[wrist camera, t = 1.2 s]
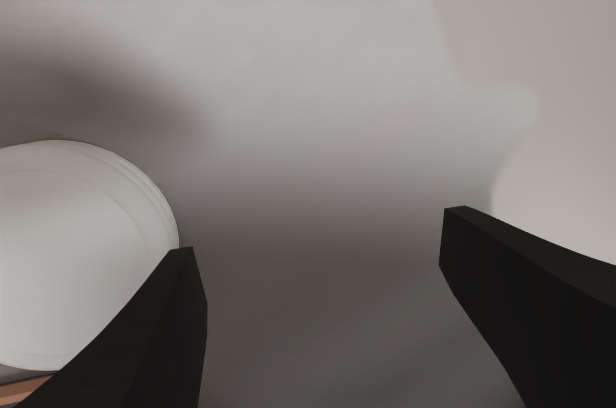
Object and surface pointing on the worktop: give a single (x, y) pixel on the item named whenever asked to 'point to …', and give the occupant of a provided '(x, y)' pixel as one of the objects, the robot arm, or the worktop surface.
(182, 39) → the worktop surface
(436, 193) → the worktop surface
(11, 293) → the white stacked discs
